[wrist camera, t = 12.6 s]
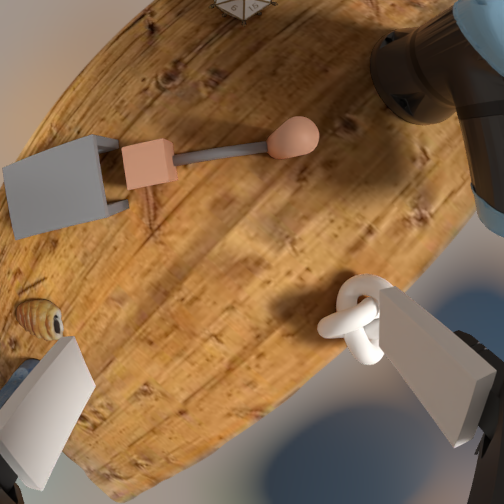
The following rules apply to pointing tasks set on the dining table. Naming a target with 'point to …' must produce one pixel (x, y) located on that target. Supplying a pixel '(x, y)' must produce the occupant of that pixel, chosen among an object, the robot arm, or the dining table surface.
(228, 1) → the game die
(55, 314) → the pastry
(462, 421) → the robot arm
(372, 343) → the white knot
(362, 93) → the dining table surface
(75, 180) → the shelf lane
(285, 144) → the block
